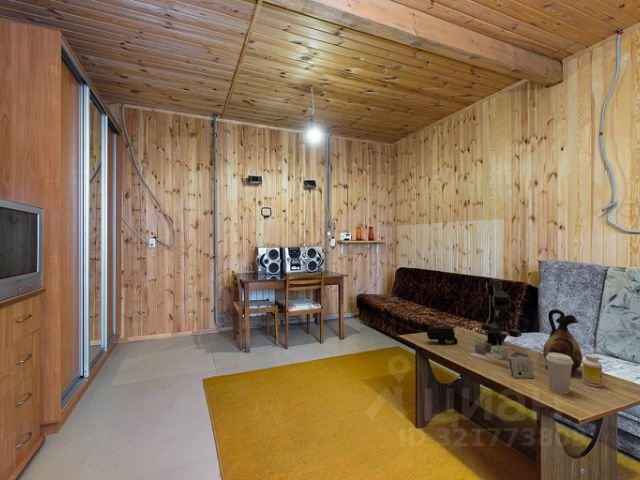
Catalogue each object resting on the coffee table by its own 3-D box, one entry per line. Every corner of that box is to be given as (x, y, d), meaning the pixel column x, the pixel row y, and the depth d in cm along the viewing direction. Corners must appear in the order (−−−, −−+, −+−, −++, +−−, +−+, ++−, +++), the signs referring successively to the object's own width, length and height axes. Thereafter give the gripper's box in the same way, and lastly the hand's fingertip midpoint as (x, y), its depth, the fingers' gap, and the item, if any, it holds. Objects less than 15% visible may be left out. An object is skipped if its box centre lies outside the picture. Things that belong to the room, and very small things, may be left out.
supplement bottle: (603, 389, 135) (603, 359, 135) (583, 385, 138) (583, 356, 139) (599, 383, 141) (600, 354, 141) (581, 379, 144) (581, 352, 144)
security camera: (459, 345, 191) (459, 329, 191) (429, 345, 191) (429, 329, 191) (454, 342, 198) (454, 326, 198) (425, 341, 198) (425, 326, 198)
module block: (499, 353, 173) (499, 344, 173) (509, 356, 169) (509, 347, 169) (491, 356, 169) (491, 347, 169) (501, 359, 165) (501, 349, 165)
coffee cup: (543, 390, 133) (543, 355, 133) (547, 383, 140) (547, 350, 140) (571, 398, 126) (571, 361, 126) (575, 390, 133) (575, 355, 133)
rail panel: (486, 349, 184) (486, 340, 184) (532, 362, 164) (532, 352, 164) (470, 355, 174) (470, 345, 174) (516, 370, 154) (517, 359, 154)
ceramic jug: (588, 373, 152) (588, 311, 152) (574, 379, 144) (574, 315, 144) (548, 361, 166) (548, 305, 167) (533, 367, 158) (534, 308, 159)
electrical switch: (514, 378, 145) (513, 358, 146) (507, 375, 150) (506, 355, 151) (534, 379, 145) (533, 358, 146) (527, 375, 150) (526, 355, 151)
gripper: (476, 315, 172) (475, 343, 172) (512, 323, 157) (512, 353, 157) (486, 313, 179) (486, 340, 179) (522, 320, 163) (521, 349, 163)
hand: (500, 345), depth 169 cm, fingers closed
